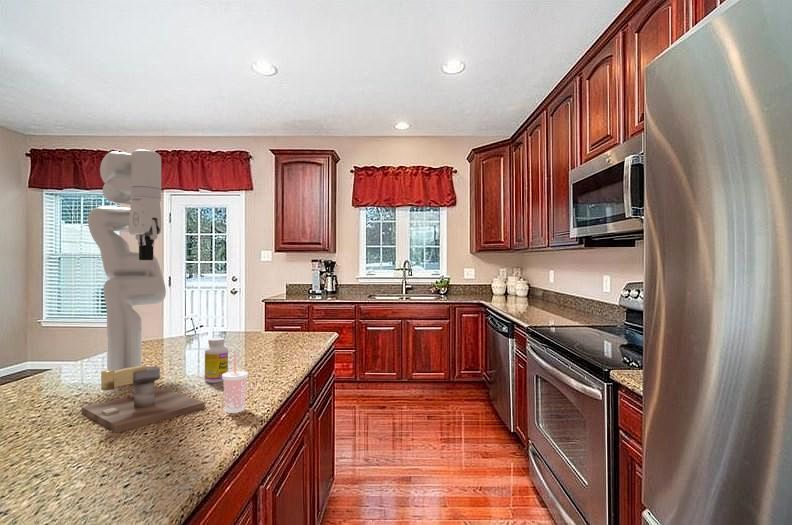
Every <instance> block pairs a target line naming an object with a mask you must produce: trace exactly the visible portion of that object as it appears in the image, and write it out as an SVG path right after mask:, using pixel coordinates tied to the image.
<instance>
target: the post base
mask: <svg viewBox="0 0 792 525" xmlns="http://www.w3.org/2000/svg"><path fill="white" fill-rule="evenodd" d="M205 403H206V402H204V401H202V400H199V399H198V398H197V399H196V398H194V397H191V396H188V395H186V394H183V393H180V392H177V391H175V390H173V389H172V390H171V389H169V388H167V387H164V388H160V389H156V390H155V381H153V382H148V383H133V395H129V394H128V395H126V396H125V397H121V398H116V399H112V400H108V401H106V400H105V401H103V402H99V403H98V402H97V403H95V404H89V405H85V406H84V405H83V406H81V414H82V415H84V416H85V417H87V418H89V419H91V420H93V421H94V422H96V423H98V424H100V425H101V426H104V427H106V428H107V429H109V430H111V431H113V432H114V433H116V434H118V432H119V433H121V432H125V431H129V430H132V429H136V428H140V427H143V426H146V425H149V424H154V423H157V422H160V420H161V421H164V420H168V419H171V418H174V417H179V416H182V415H185V414H188V413H189V414H190V413H192V412H195V411H199V410H203V409H206V408H205Z"/></svg>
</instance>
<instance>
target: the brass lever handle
mask: <svg viewBox="0 0 792 525" xmlns="http://www.w3.org/2000/svg"><path fill="white" fill-rule="evenodd" d="M100 379H101V380H100V381H101V382H100V385H101V387H100V390H101V391H111V390H114V389H115V388H119V387H121V386H126V385H132V384H134V383H148V382H153V381H154V382H156V381H158V380H160V379H161V368H160V367H159V366H147V365H144V364H141V365H139V366H134V367H130V368H125V369H120V370H107V369H106V370H103V371H101V372H100Z"/></svg>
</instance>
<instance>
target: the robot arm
mask: <svg viewBox="0 0 792 525" xmlns="http://www.w3.org/2000/svg"><path fill="white" fill-rule="evenodd" d="M99 172H100V178H101V180H102V182H103V183H104V185H103V187H102V194H103V196H104V198H105V199H106V200H107V201H109V202H111V203H113V204H119V205H130V207H119V206H98V207H94V208H92V209H91V210H90V211H89V213H88V216H87V220H88V222H87V224H88V229H89V232H90V235H91V237H92V239H93V240H94V242H95V244H96V245H97V247H98V248H99V251H100V257H101V261H102V265H103V269H104V272H105V273H104V274H105V275H106V277H107V278H109V279H107V280H106V281H105V282H104V284H103V291H102V292H103V297H104V303H105V308H106V309H105V310H106V370H120V369H125V368H130V367H134V366H139V365H142V318H141V316H140V314H139V313H138V312H137V311H136V310H135V309H134V308H133V307H134V306H142V305H143V306H145V305H156V304H160V303H162V302H163V301H164V299H165V298H166V296H167V295H166V294H167V289H166V283H165V280H164V277H163V274H162V270H161V267H160V263H159V261H158V258H157V257H156V256H155V254H154V246H155V240H157V239H158V235H160V234H161V233H162V207H161V202H162V157H161V155H160V154H159V153H158V152H156V151H153V150H149V149H148V150H147V149H136V150H134V151H132V152H131V153H128V152H119V151H110V152H108V153H107V154H105V155H104V157H103V158H102V160H101V163H100V167H99ZM117 232H120V233H121V232H122V233H124V232H125V233H129V234H130V235H132V236H135V238H134V239H135V240H137V244H138V251H137V252H133V251H130V250H131V249H130V246H129V243H128V241H127V240H125V239H124V238H123V237H122V236H121V235H119V234H118V233H117Z"/></svg>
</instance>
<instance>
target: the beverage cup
mask: <svg viewBox="0 0 792 525" xmlns="http://www.w3.org/2000/svg"><path fill="white" fill-rule="evenodd" d="M248 377H249V372H248V371H244V370H237V353H234V354H233V370H232V371H228V372H226V373H223V374H222V379H223V382H222V383H223V396H224V397H223V398H224V410H225V412H226V413H228V414H236V413H237V414H238V413H241V412H243V411H245V410H246V396H247V395H246V394H247V380H248Z"/></svg>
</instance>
